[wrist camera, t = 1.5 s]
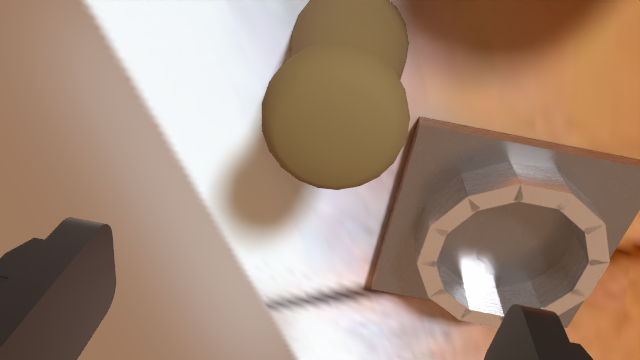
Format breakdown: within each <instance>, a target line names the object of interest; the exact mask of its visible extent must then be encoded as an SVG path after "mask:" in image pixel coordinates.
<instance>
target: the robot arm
mask: <svg viewBox="0 0 640 360" xmlns="http://www.w3.org/2000/svg"><path fill="white" fill-rule="evenodd" d="M115 287H116V276H115V262H114V249H113V237H112V230H111V227H110V226H109V225H107V224H102V223H98V222H92V221H87V220H82V219H77V218H71V217H70V218H67V219H65V220H63V221H62V222H61V223H60V224H59V225H58V226H57V227H56V229H55V230H54V231H53V232H52V233H51V234H50V235H49V236H48V237H47V238H46V239H45V240H43V239H38V238H33V239H31V240H29V241H27V242H25V243H24V244H22V245H20V246H18V247H16V248H14V249H12V250H11V251H9V252H7V253H5V254H4V255H3V256H2V257H1V258H0V360H77V359H78V357H79V356H80V354H81V352H82V351H83V349H84V348H85V346H86V345H87V343H88V341H89V340H90V338H91V337H92V335H93V334H94V332H95V331H96V329H97V327H98V326H99V324H100V323H101V321H102V320H103V318H104V316H105V315H106V313H107V312H108V310H109V308H110V305H111V303H112V300H113V297H114V293H115ZM484 360H593V359H592V358H591V356H590V355H589V354H588V353H587V352H586V351H585V349H584V348H583V347H582V346H581V345H580V344H577V343H571V342H570V341H569V339H568V337H567V334H566V332H565V330H564V327H563V325H562V322H561V320H560V318H559V316H558V315H557V314H556V313H555V312H553V311H549V310H544V309H539V308H533V307H528V306H523V305H518V304H514V305H512V306H511V307H510V308H509V309H508V311H507V313H506V315H505V317H504V319H503V321H502V323H501V325H500V327H499V329H498V331H497V333H496V335H495V337H494V339H493V341H492V343H491V345H490V347H489V349H488V350H487V352H486V355H485V358H484Z"/></svg>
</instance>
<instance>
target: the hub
mask: <svg viewBox="0 0 640 360" xmlns="http://www.w3.org/2000/svg"><path fill="white" fill-rule="evenodd" d="M639 210H640V160H638V159H633V158H628V157H622V156H617V155H612V154H607V153H602V152H597V151H592V150H587V149H582V148H577V147H571V146H566V145H561V144H556V143H551V142H546V141H541V140H536V139H531V138H525V137H520V136H515V135H510V134H505V133H500V132H495V131H490V130H485V129H480V128H474V127H469V126H464V125H459V124H454V123H449V122H444V121H439V120H434V119H429V118H423V117H419V120H418V123H417V127H416V130H415V134H414V137H413V140H412V144H411V147H410V151H409V154H408V157H407V161H406V164H405V168H404V171H403V174H402V178H401V181H400V185H399V188H398V191H397V195H396V198H395V202H394V205H393V208H392V212H391V215H390V219H389V222H388V225H387V229H386V232H385V236H384V239H383V242H382V246H381V249H380V253H379V256H378V259H377V263H376V266H375V270H374V273H373V276H372V289H374V290H379V291H384V292H389V293H394V294H399V295H404V296H409V297H414V298H419V299H424V300H429V301H434V302H436V303H437V304H438V305H440V306H441V307H442V308H444V309H445V310H446V311H448V312H449V313H450V314H452V315H453V316H454V317H456V318H457V319H459V320H460V321H465V322H470V323H475V324H480V325H485V326H491V327H496V328H499V327H500V325H501V323H502V321H503V319H504V317H505V315H506V313H507V311H508V309H509V308H510V307H511V306H512V305H514V304H518V305H523V306H528V307H533V308H539V309H544V310H549V311H553V312H555V313H556V314H557V315H558V316H559V318H560V320H561V322H562V325H563V327H565V328H567V327H568V325H569V324H570V322H571V321H572V319H573V317H574V316H575V314H576V312H577V311H578V309H579V308H580V306H581V304H582V303H583V301H584V300H585V299H587V298H588V297H589V295H590V294H591V292H592V291H593V289H594V287H595V286H596V284H597V283H598V281H599V279H600V278H601V276H602V274H603V273H604V271H605V270H606V268H607V266H608V265H609V263H610V257H611V256H612V254H613V252H614V251H615V249H616V248H617V246H618V244H619V243H620V241H621V239H622V238H623V236H624V235H625V233H626V231H627V230H628V228H629V226H630V225H631V223H632V222H633V220H634V218H635V217H636V215H637V213H638V212H639Z"/></svg>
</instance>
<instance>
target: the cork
mask: <svg viewBox="0 0 640 360" xmlns="http://www.w3.org/2000/svg"><path fill="white" fill-rule="evenodd" d="M408 44H409V42H408V36H407V30H406V24H405V22H404V20H403V19H402V17H401V15H400V13H399V11H398V9H397V7H396V6H394V5H393V4H392V3H391V2H390V1H389V0H310V1H309V2H308V4H307V5H306V6H305V7H304V9H303V10H302V11H301V13H300V14H299V15H298V18H297V21H296V23H295V26H294V29H293V32H292V39H291V49H290V58H289V59H287V60H286V61H285V63H284V64H283V65H282V66H281V68H280V69H279V70H278V71H277V72H276V74H275V75H274V76H273V77H272V79H271V81H270V82H269V85H268V87H267V90H266V93H265V96H264V99H263V102H262V131H263V134H264V137H265V140H266V143H267V146H268V149H269V151H270V152H271V154H272V155H273V156H274V158H275V159H276V160H277V162H278V163H279V164H280V166H281V167H282V168H283V169H285V170H286V171H287V172H289V173H290V174H291V175H293V176H294V177H295V178H297V179H298V180H300V181H302V182H305V183H307V184H310V185H312V186H315V187H317V188H325V189H334V190H339V189H345V188H351V187H357V186H361V185H363V184H365V183H367V182H369V181H371V180H373V179H376V178H378V177H379V176H380V175H381V174H382V173H383V172H384V171H386V170H387V169H388V168H389V167H390V166H391V165H392V164H393V163H394V161H395V160H396V158H397V156H398V154H399V152H400V150H401V149H402V147H403V145H404V143H405V141H406V139H407V133H408V127H409V121H410V114H409V109H408V103H407V98H406V92H405V89H404V87H403V85H402V83H401V82H400V79H401V76H402V72H403V69H404V66H405V63H406V57H407V51H408Z"/></svg>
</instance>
